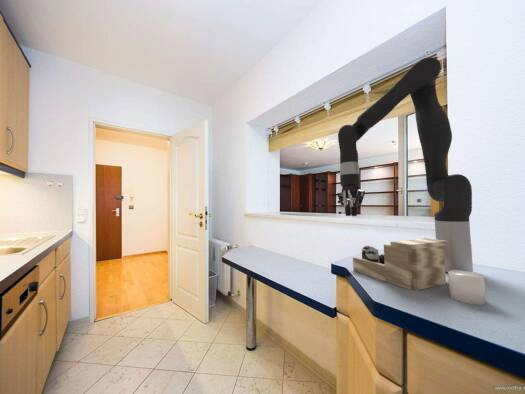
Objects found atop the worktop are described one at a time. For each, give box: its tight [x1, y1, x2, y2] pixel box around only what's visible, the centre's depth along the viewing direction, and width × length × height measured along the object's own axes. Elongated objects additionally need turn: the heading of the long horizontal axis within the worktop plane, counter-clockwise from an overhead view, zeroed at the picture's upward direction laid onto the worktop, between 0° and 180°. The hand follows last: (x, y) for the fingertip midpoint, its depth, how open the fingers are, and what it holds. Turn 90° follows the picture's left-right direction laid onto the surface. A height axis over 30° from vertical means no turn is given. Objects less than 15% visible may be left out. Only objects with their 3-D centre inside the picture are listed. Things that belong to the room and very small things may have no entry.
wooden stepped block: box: [352, 237, 448, 291], centre depth 71 cm, size 16×22×12 cm
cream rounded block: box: [447, 270, 487, 306], centre depth 53 cm, size 6×6×6 cm
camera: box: [361, 245, 385, 265], centre depth 78 cm, size 13×8×9 cm, turn 171°
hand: (351, 215), depth 90 cm, fingers open, 2 cm apart
